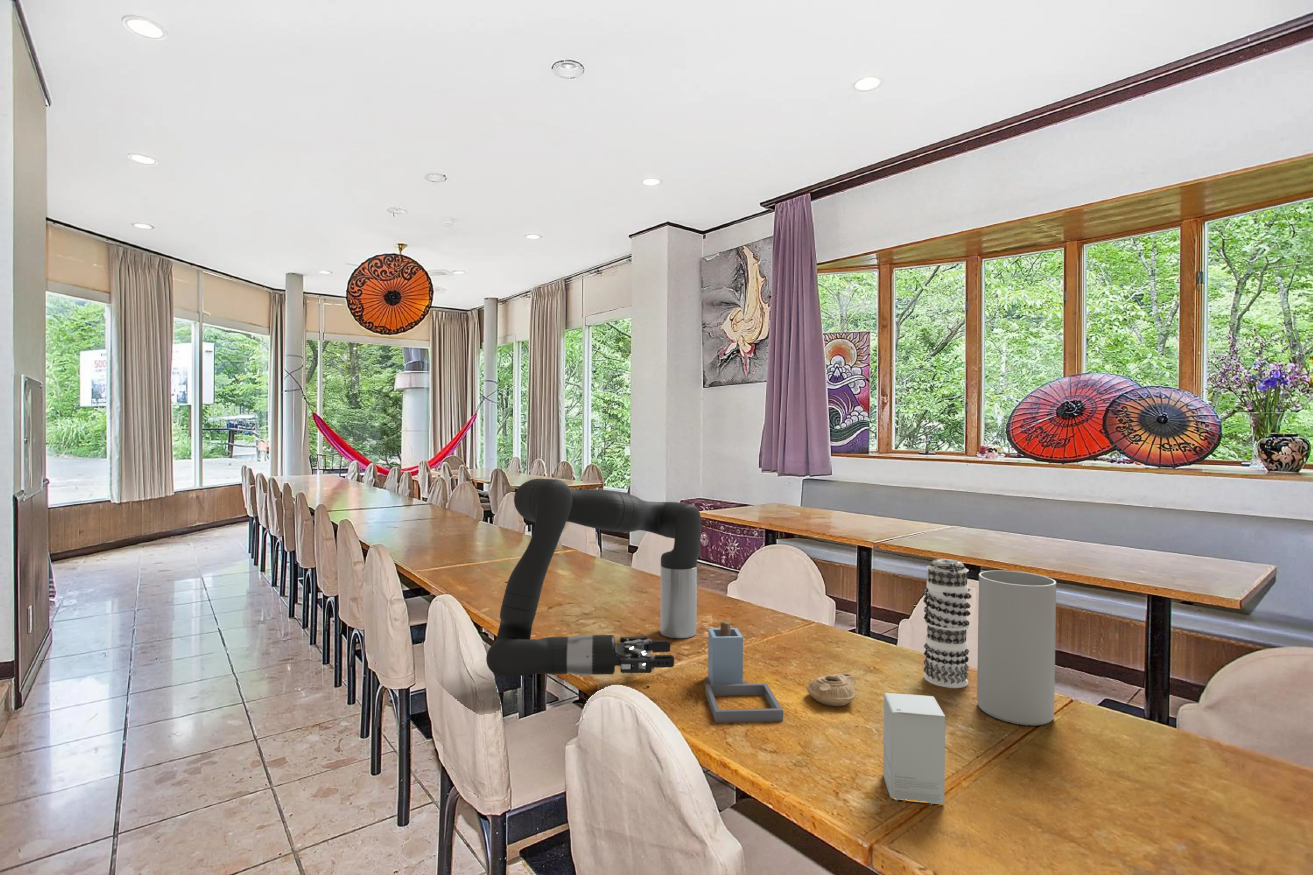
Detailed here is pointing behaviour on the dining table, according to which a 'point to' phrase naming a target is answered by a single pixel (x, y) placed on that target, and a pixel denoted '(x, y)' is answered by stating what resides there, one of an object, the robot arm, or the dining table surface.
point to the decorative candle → (946, 624)
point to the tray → (743, 714)
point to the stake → (723, 632)
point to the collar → (725, 657)
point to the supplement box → (914, 748)
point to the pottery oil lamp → (833, 689)
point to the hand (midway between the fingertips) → (671, 653)
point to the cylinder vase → (1016, 646)
